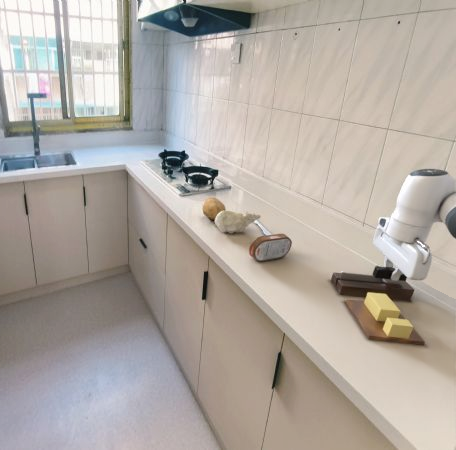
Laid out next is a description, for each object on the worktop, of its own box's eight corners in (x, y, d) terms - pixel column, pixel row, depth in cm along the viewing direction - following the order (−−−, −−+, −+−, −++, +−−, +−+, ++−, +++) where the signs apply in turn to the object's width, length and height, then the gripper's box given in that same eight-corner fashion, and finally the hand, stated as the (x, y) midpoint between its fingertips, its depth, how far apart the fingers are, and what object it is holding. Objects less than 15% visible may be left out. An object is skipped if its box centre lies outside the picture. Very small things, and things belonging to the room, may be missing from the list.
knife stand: (396, 287, 98) (400, 275, 97) (410, 301, 92) (415, 289, 90) (330, 280, 100) (333, 269, 99) (339, 294, 94) (343, 283, 92)
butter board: (391, 307, 89) (392, 303, 89) (423, 345, 77) (425, 341, 76) (344, 302, 90) (345, 299, 90) (368, 339, 78) (369, 335, 77)
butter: (381, 304, 88) (385, 293, 87) (396, 322, 82) (400, 311, 80) (363, 303, 89) (367, 292, 87) (376, 320, 82) (381, 309, 81)
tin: (284, 253, 115) (289, 231, 111) (290, 257, 112) (295, 235, 109) (246, 259, 110) (250, 236, 107) (252, 264, 107) (256, 240, 104)
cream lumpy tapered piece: (205, 234, 131) (229, 223, 118) (205, 217, 133) (228, 204, 121) (237, 241, 137) (263, 231, 124) (236, 225, 139) (262, 213, 127)
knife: (398, 286, 95) (405, 268, 93) (401, 290, 94) (409, 272, 91) (337, 280, 97) (343, 262, 94) (340, 283, 95) (346, 265, 93)
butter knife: (266, 235, 126) (273, 235, 126) (245, 211, 148) (251, 211, 148) (265, 236, 126) (273, 236, 127) (245, 212, 148) (251, 212, 148)
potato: (205, 225, 134) (207, 206, 131) (198, 212, 147) (199, 194, 144) (229, 225, 135) (231, 206, 132) (220, 212, 148) (222, 195, 145)
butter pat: (402, 331, 79) (407, 319, 78) (408, 338, 77) (413, 326, 75) (382, 329, 80) (387, 317, 78) (387, 336, 77) (392, 324, 76)
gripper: (447, 250, 78) (425, 299, 84) (399, 217, 97) (384, 259, 102) (418, 247, 79) (398, 296, 84) (376, 215, 97) (362, 257, 103)
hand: (390, 275), depth 93 cm, fingers closed on knife, 2 cm apart
